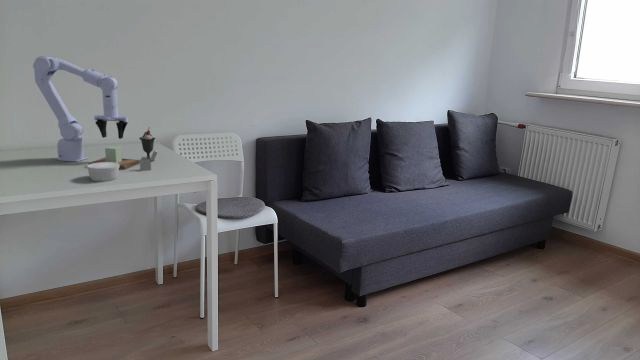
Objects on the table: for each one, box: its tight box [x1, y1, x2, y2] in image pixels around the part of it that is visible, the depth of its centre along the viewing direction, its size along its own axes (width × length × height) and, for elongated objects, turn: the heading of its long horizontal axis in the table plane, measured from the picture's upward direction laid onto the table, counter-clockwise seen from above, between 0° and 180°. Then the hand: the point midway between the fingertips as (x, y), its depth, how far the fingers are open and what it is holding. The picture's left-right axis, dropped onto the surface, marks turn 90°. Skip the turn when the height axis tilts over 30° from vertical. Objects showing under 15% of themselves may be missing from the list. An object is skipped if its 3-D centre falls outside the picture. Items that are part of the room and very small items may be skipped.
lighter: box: [139, 149, 159, 171], centre depth 204 cm, size 7×2×8 cm, turn 110°
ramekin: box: [86, 162, 120, 182], centre depth 188 cm, size 11×11×5 cm
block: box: [104, 145, 123, 163], centre depth 209 cm, size 4×4×6 cm
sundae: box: [138, 126, 156, 163], centre depth 219 cm, size 7×7×15 cm
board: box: [87, 156, 140, 170], centre depth 210 cm, size 16×12×2 cm
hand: (112, 137), depth 216 cm, fingers open, 7 cm apart
